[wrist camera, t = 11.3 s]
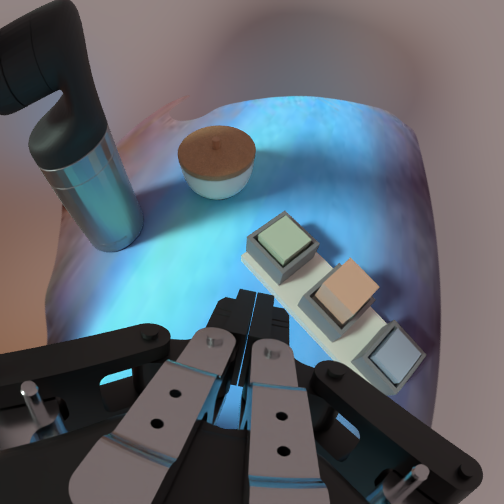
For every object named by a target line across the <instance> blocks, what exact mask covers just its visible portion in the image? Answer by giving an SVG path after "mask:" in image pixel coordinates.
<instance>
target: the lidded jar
mask: <svg viewBox="0 0 504 504" xmlns="http://www.w3.org/2000/svg"><path fill="white" fill-rule="evenodd" d="M255 153H256V148H255V144H254V142H253V140H252V139H251V137H250V136H249V135H247V134H246V133H245V132H243V131H241V130H239V129H237V128H234V127H229V126H210V127H205V128H201V129H199V130H197V131H195V132H193V133H191V134H190V135H188V136H187V137H186V138H185V139H184V140H183V141H182V143H181V144H180V146H179V149H178V159H179V163H180V165H181V170H182V173H183V176H184V178H185V180H186V182H187V184H188V185H189V186H190V188H191V189H192V190H193V191H194V192H196V193H197V194H199V195H201V196H203V197H205V198H209V199H214V200H222V199H226V198H228V197H231V196H233V195H235V194H237V193H238V192H240V191H241V190H242V189H243V188H244V187H245V185H246V184H247V183H248V181H249V179H250V176H251V174H252V170H253V166H254V159H255Z"/></svg>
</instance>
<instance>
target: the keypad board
mask: <svg viewBox="0 0 504 504" xmlns="http://www.w3.org/2000/svg"><path fill="white" fill-rule="evenodd" d="M285 215H286V216H287V217H288V218H289V219H290V220H292V221H293V222H294V223H295V224H296V225H297V226H298V227H299V228H300V229H301V230H302V231H303V232H304V233H305V234H306V235H307V236H308V237H309V238H310V239H311V242H310V244H309V247H308V249H307V250H305V251H304V252H303V253H302V254H300V255H299V256H298V257H297V258H295V259H294V260H293V261H292V262H290V263H289V264H288V265H287V266H285V267H284V268H282V267H281V266H280V265H279V264H278V263H277V262H276V261H275V260H274V259H273V258H272V257H271V256H270V255H269V254H268V252H267V251H266V250H265V249H264V248H263V247H262V246H261V245H260V244H259V243H258V235H259V234H260V233H261V232H263V231H264V230H266V229H267V228H268V227H270V226H271V225H273V224H274V223H275V222H277V221H278V220H280V219H281V218H283V217H284V216H285ZM319 245H320V243H318V242H317V241H316V240H315V239H314V238H313V237H312V236H311V235H310V234H309V233H308V232H307V231H306V230H305V229H304V228H303V227H302V226H301V225H300V224H299V223H298V222H296V221H295V220H294V219H293V218H292V217H291V216H290V215H289V214H288V213H287V212H286V211H284V212H282V213H281V214H279V215H278V216H276V217H275V218H273V219H272V220H270V221H269V222H268V223H266V224H265V225H263V226H262V227H260V228H259V229H257V230H256V231H255V232H253V233H252V234H250V235H249V236H247V245H246V251H247V252H245V253H244V254H243V255H241V261H242V262H243V263H244V265H245V266H246V267H247V268H248V269H249V270H250V271H251V272H252V273H253V274H254V275H255V277H256V278H257V279H258V280H259V281H260V282H261V283H262V284H263V285H264V286H265V287H266V289H267V290H268V291H269V292H270V293H271V294H272V295H274V297H275V298H276V299H277V300H278V302H279V303H280V304H281V305H282V306H283V307H284V308H285V309H286V310H287V311H288V312H289V313H290V315H291V316H292V317H293V318H294V319H295V320H296V321H297V322H298V323H299V324H300V325H301V326H302V327H303V328H304V330H305V331H306V332H307V333H308V334H309V335H310V336H311V337H312V338H313V339H314V340H315V341H316V342H317V343H318V345H319V346H320V347H321V348H322V349H323V350H324V351H325V352H326V353H327V354H328V355H329V356H330V357H331V358H332V359H333V360H334V361H337V362H340V363H343V364H345V365H346V366H348V367H349V368H351V369H352V370H353V371H354V372H356V373H357V374H358V375H360V376H361V377H362V378H364V379H365V380H366V381H368V382H369V383H370V384H372V385H373V386H374V387H375V388H377V389H378V390H379V391H381V392H382V393H383V394H385V395H386V396H387V395H396V394H397V393H398V392H399V391H400V389H401V388H402V387H403V386H404V384H405V383H406V382H407V380H408V379H409V378H410V377H411V375H412V374H413V373H414V371H415V370H416V369H417V367H418V366H419V365H420V363H421V362H422V360H423V359H424V358H425V356H426V354H425V353H424V352H423V350H422V349H421V348H420V347H419V346H418V345H417V344H416V343H415V342H414V340H413V339H412V338H411V337H410V336H409V335H408V334H407V333H406V332H405V331H404V329H403V328H402V327H401V326H400V325H399V324H398V323H397V322H396V321H395V320H393V321H391V322H390V323H388V324H387V323H386V322H385V321H384V320H383V319H382V318H381V317H380V316H379V315H378V314H377V313H376V312H375V311H374V310H373V309H372V308H371V307H370V306H371V305H372V304H373V302H374V301H375V299H374V298H373V297H372V296H371V297H370V298H369V299H368V300H367V301H366V302H365V303H364V304H363V305H362V307H361V308H360V309H359V310H358V311H357V312H356V313H355V314H354V315H353V316H352V317H350V318H349V319H348V320H347V321H346V322H344V323H343V324H342V323H341V322H340V321H339V320H338V319H337V318H336V317H335V316H334V315H333V314H332V313H331V312H330V311H329V310H328V308H327V307H326V306H325V305H324V304H323V303H322V302H321V301H320V300H319V299H318V298H317V297H316V296H315V294H316V293H317V291H318V290H319V288H320V287H321V285H322V284H323V283H324V282H325V281H326V280H327V279H328V278H329V277H330V276H331V275H332V274H333V273H335V272H336V271H337V270H338V269H339V268H340V267H341V266H342V265H341V264H340V263H339V264H338V265H337V266H335V267H334V268H332V267H331V266H330V265H329V264H328V263H327V262H326V261H325V260H324V259H323V258H322V257H321V256H320V255H319V254H318V253H317V252H316V251H317V249H318V247H319ZM397 328H398V329H399V330H400V331H401V332H402V333H403V334H404V335H405V336H406V337H407V339H408V340H409V341H410V342H411V343H412V344H413V345H414V346H415V347H416V349H417V350H418V351H419V352H420V353H421V355H420V357H419V358H418V359H417V361H416V362H415V364H414V365H413V366H412V367H411V369H410V370H409V371H408V373H407V374H406V375H405V377H404V378H403V379H402V380H401V382H400V383H395V384H392V383H391V382H390V381H389V380H388V379H387V378H386V377H385V375H384V374H383V373H382V372H381V371H380V370H379V369H378V368H377V367H376V366H375V365H374V364H373V363H372V362H371V361H370V359H369V358H368V356H369V355H370V354H371V353H372V352H373V351H374V349H375V348H376V347H377V346H378V345H379V344H380V342H381V341H382V340H383V339H384V338H385V337H386V335H387V334H388V333H390V332H392V331H394V330H396V329H397Z"/></svg>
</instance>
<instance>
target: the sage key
mask: <svg viewBox="0 0 504 504" xmlns="http://www.w3.org/2000/svg"><path fill="white" fill-rule="evenodd" d="M310 242H311V239H310V238H309V237H308V236H307V235H306V234H305V233H304V232H303V231H302V230H301V229H300V228H299V227H298V226H297V225H296V224H295V223H294V222H293V221H292V220H290V219H289V218H288V217H287V216H286V215H285V216H284V217H283V218H281V219H280V220H278V221H277V222H275V223H274V224H273V225H271V226H270V227H268V228H267V229H266V230H264V231H263V232H261V233H260V234H259V235H258V243H259V244H260V245H261V246H262V247H263V248H264V249H265V250H266V251H267V252H268V254H269V255H270V256H271V257H272V258H273V259H274V260H275V261H276V262H277V263H278V264H279V265H280V266H281V267H282V268H284V267H285V266H287V265H288V264H289V263H290V262H292V261H293V260H294V259H295V258H297V257H298V256H299V255H300V254H302V253H303V252H304V251H305V250H307V249H308V247H309V244H310Z"/></svg>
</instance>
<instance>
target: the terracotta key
mask: <svg viewBox="0 0 504 504" xmlns="http://www.w3.org/2000/svg"><path fill="white" fill-rule="evenodd" d="M378 288H379V286H378V285H377V284H376V283H375V282H374V281H373V280H372V279H371V278H370V277H369V276H368V275H367V274H366V273H365V272H364V271H363V270H362V269H361V268H360V267H359V266H358V265H357V264H356V263H355V262H354V261H353V260H352V259H351V258H350V259H349V260H347V261H346V262H345V263H344V264H343V265H342V266H341V267H340V268H339V269H338V270H337V271H336V272H335V273H333V274H332V275H331V276H330V277H329V278H328V279H327V280H326V281H325V282H324V283H323V284H322V285H321V287H320V288H319V290H318V291H317V293H316V294H315V296H316V297H317V298H318V299H319V300H320V301H321V302H322V303H323V304H324V305H325V306H326V307H327V308H328V310H329V311H330V312H331V313H332V314H333V315H334V316H335V317H336V318H337V319H338V320H339V321H340V322H341V323H342V324H343V323H344V322H346V321H347V320H348V319H349V318H350V317H352V316H353V315H354V314H355V313H356V312H357V311H358V310H359V309H360V308H361V307H362V305H363V304H364V303H365V302H366V301H367V300H368V299H369V298H370V297H371V296H372V295H373V294H374V293H375V291H376V290H377V289H378Z"/></svg>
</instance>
